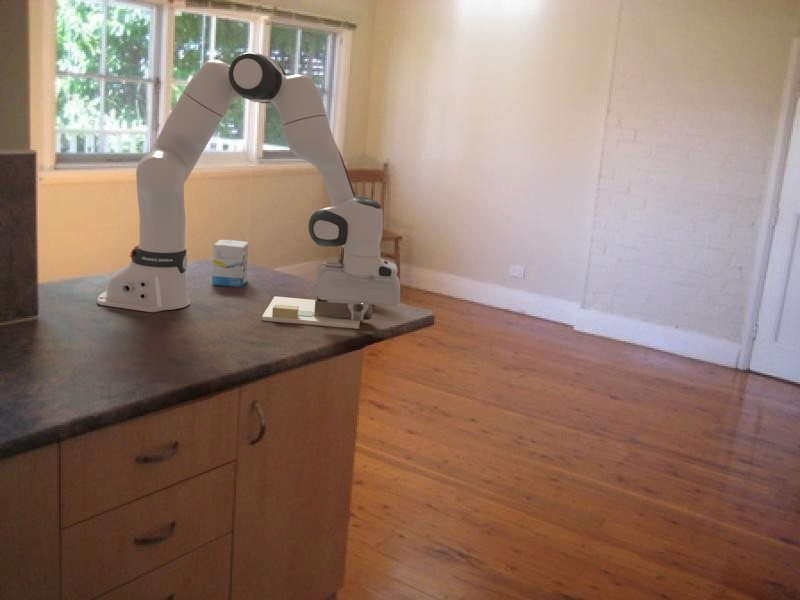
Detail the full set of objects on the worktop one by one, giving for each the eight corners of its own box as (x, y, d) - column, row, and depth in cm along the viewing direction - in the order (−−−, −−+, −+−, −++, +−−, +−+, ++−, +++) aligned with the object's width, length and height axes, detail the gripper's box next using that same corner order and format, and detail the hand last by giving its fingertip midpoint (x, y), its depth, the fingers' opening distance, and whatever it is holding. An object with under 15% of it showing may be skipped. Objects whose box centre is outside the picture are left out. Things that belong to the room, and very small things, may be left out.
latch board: (261, 320, 216) (262, 306, 215) (274, 299, 235) (275, 287, 235) (358, 328, 216) (359, 315, 215) (363, 307, 236) (364, 295, 235)
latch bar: (314, 315, 219) (315, 297, 218) (315, 311, 223) (317, 294, 222) (371, 320, 219) (372, 302, 218) (371, 316, 223) (373, 298, 222)
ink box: (241, 287, 245) (243, 246, 242) (211, 285, 245) (212, 244, 242) (247, 280, 254) (249, 241, 251) (218, 278, 253) (219, 238, 251)
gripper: (317, 264, 209) (313, 319, 212) (402, 271, 209) (397, 326, 212) (320, 258, 215) (316, 312, 218) (403, 265, 215) (398, 319, 218)
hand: (357, 319), depth 215 cm, fingers closed
